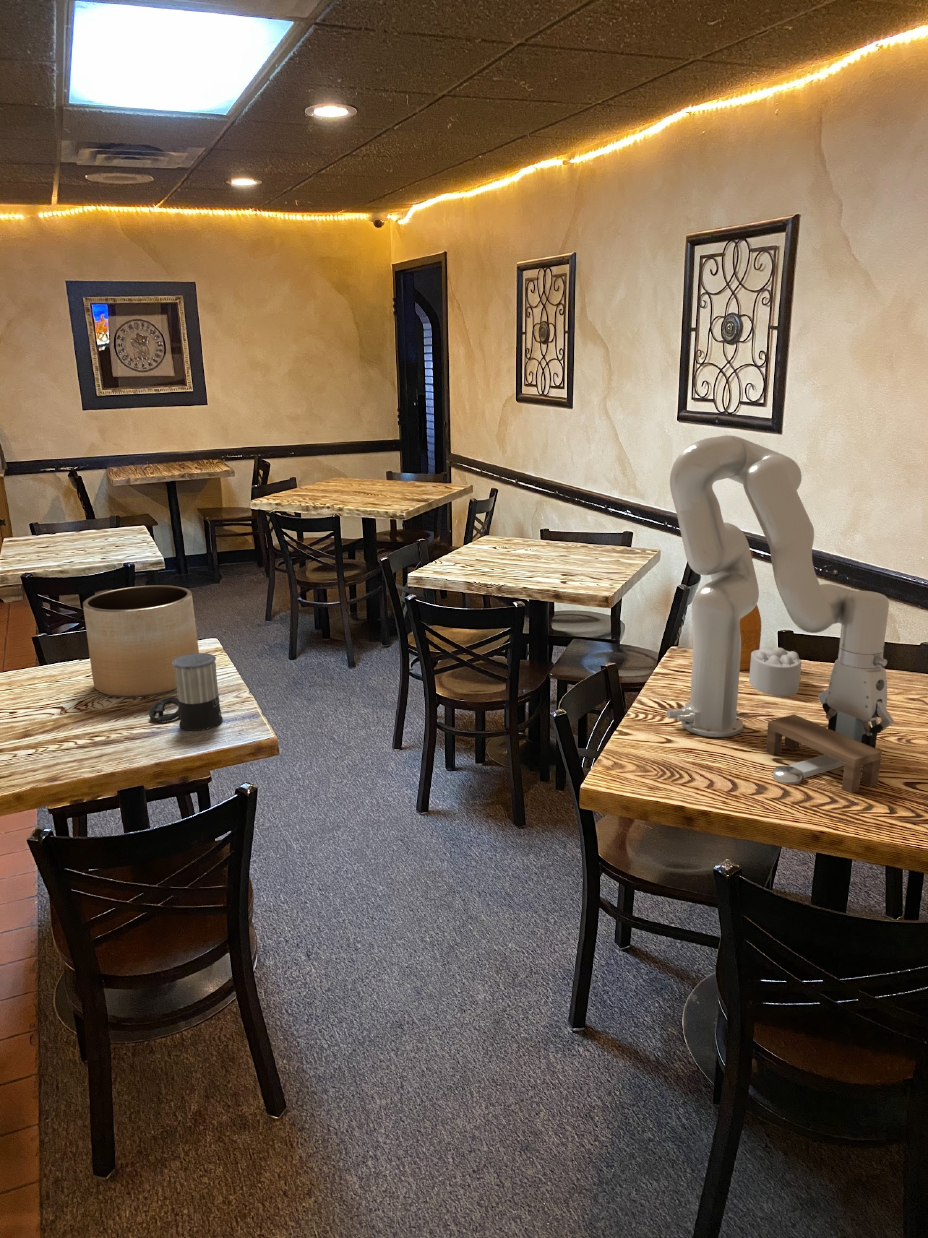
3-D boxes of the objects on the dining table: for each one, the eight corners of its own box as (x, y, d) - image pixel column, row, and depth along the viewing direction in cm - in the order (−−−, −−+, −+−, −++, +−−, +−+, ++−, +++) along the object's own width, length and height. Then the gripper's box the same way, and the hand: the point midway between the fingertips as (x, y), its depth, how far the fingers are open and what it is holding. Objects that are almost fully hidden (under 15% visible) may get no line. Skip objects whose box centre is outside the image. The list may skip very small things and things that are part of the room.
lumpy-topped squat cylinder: (788, 677, 211) (791, 643, 208) (806, 696, 198) (810, 661, 196) (745, 677, 211) (747, 644, 209) (761, 697, 199) (763, 661, 196)
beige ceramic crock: (101, 671, 224) (89, 589, 218) (202, 661, 231) (194, 581, 225) (87, 706, 201) (73, 615, 195) (200, 694, 207) (191, 605, 201)
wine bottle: (750, 658, 224) (758, 545, 216) (764, 671, 215) (773, 553, 207) (712, 659, 224) (720, 546, 216) (725, 672, 215) (733, 554, 207)
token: (794, 788, 156) (795, 780, 156) (768, 779, 159) (768, 772, 159) (805, 778, 159) (806, 771, 159) (779, 770, 163) (780, 763, 162)
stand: (851, 793, 153) (854, 759, 151) (765, 751, 170) (768, 721, 168) (877, 784, 156) (882, 751, 154) (791, 744, 173) (794, 714, 171)
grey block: (847, 752, 169) (852, 704, 166) (864, 760, 166) (870, 711, 163) (787, 770, 162) (792, 720, 159) (804, 778, 159) (809, 728, 156)
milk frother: (222, 728, 187) (216, 664, 182) (146, 737, 183) (137, 671, 179) (222, 705, 200) (216, 644, 196) (151, 713, 196) (143, 651, 192)
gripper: (915, 667, 155) (903, 758, 160) (835, 642, 170) (826, 726, 175) (887, 674, 152) (876, 767, 157) (808, 648, 167) (800, 733, 172)
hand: (850, 744), depth 166 cm, fingers open, 7 cm apart
